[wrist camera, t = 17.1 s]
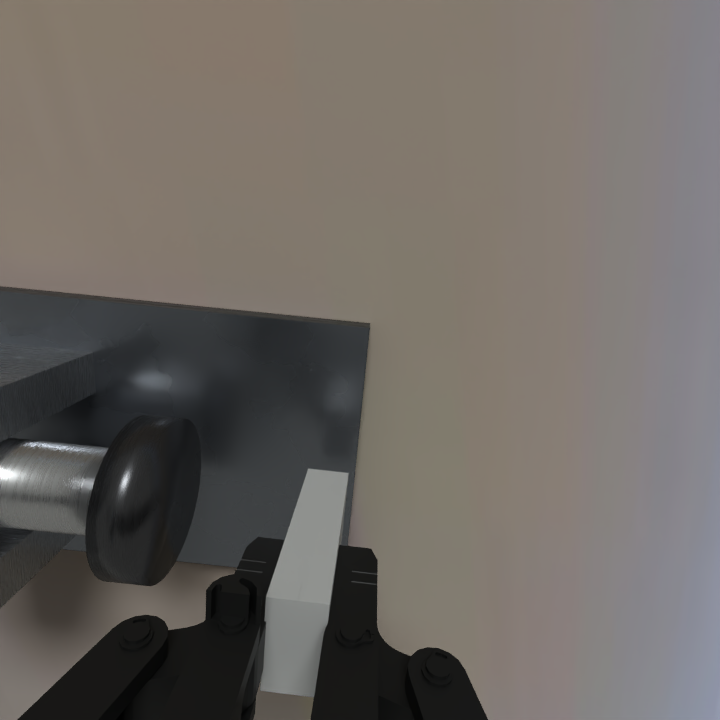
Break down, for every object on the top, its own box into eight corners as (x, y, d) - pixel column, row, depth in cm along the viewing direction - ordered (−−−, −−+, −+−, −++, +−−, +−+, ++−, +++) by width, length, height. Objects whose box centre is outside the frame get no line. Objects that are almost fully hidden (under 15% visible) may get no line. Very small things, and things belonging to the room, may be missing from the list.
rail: (-14, 524, 23) (-246, 690, 15) (-39, 282, 21) (-347, 309, 12) (345, 562, 23) (327, 752, 14) (370, 323, 20) (365, 381, 12)
